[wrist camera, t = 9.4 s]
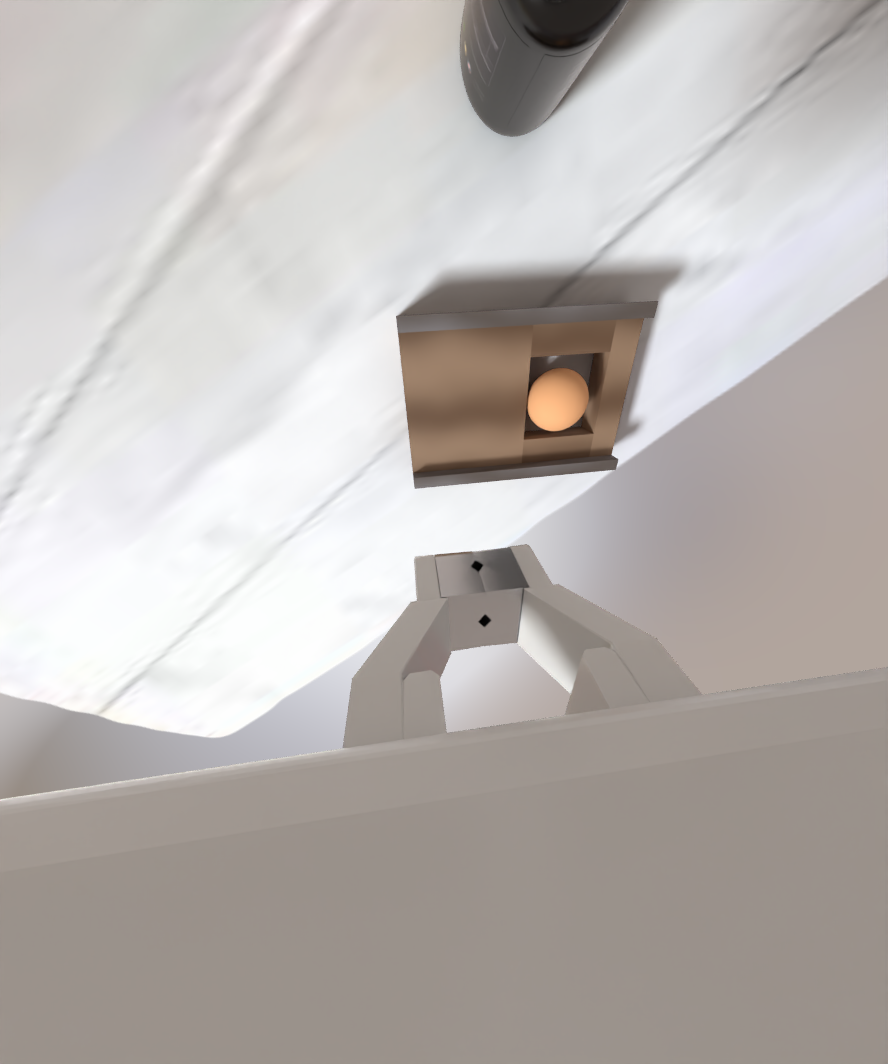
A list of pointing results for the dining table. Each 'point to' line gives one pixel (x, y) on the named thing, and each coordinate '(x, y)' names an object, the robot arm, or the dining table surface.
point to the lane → (511, 390)
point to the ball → (557, 399)
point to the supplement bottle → (528, 55)
